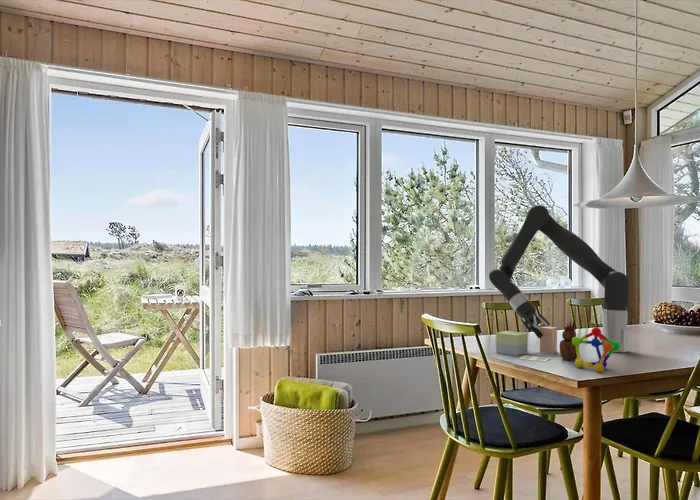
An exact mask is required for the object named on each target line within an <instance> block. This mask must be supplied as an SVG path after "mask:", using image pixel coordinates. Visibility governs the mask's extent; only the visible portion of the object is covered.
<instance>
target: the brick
mask: <svg viewBox="0 0 700 500" xmlns="http://www.w3.org/2000/svg"><path fill="white" fill-rule="evenodd" d="M539 330H540V332H541V333H542V334H543V336H542V337H541V338H539V353H545V354H546V353H547V354H554V353H557V352H558V327H555V326H549V327H547V326H545V327H539Z"/></svg>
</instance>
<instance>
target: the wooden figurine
mask: <svg viewBox="0 0 700 500" xmlns="http://www.w3.org/2000/svg"><path fill="white" fill-rule="evenodd" d="M575 321H576V320H573V322H572V321H569V324H567V325H566V326H564V330H563V331H562V333H561V335H562V338H563V339H562V340H560V342H559V352H560V356H561V359H562V360H564V361H570V362H571V361H576V360H577V353H576V347H575V345H573V344H572V338H574V337H577V333H576V331H575V329H576V322H575ZM578 346H579V347H580V345H578Z"/></svg>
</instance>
